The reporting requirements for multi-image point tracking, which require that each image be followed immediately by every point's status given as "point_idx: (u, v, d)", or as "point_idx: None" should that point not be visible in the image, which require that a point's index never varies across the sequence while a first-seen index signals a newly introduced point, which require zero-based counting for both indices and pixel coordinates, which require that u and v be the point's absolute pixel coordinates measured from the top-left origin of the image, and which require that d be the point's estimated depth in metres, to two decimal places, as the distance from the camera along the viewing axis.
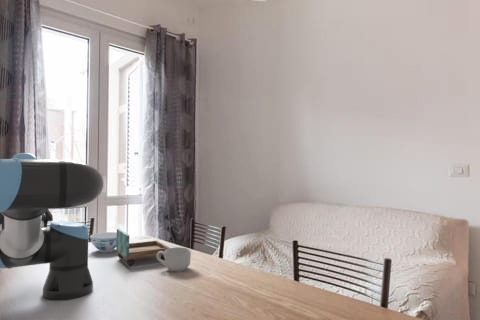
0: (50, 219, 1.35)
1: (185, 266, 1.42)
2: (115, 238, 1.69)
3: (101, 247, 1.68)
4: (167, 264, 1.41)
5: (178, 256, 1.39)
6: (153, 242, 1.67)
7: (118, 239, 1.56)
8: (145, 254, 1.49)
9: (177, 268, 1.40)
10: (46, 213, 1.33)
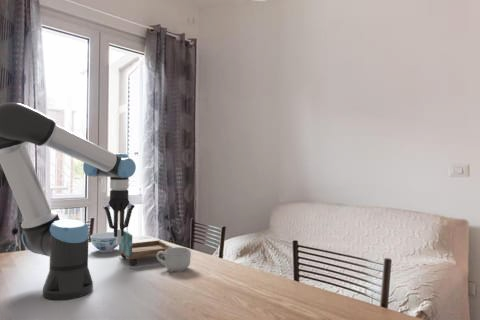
0: (126, 224, 1.52)
1: (185, 266, 1.42)
2: (115, 238, 1.69)
3: (101, 247, 1.68)
4: (167, 264, 1.41)
5: (178, 256, 1.39)
6: (156, 242, 1.68)
7: (121, 239, 1.57)
8: (148, 254, 1.50)
9: (177, 268, 1.40)
10: (129, 216, 1.53)
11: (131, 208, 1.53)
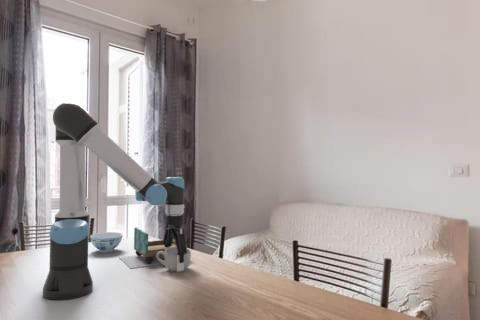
0: (180, 251, 1.36)
1: (185, 266, 1.42)
2: (115, 238, 1.69)
3: (101, 247, 1.68)
4: (167, 264, 1.41)
5: None
6: None
7: (136, 237, 1.60)
8: None
9: None
10: (179, 242, 1.38)
11: (177, 233, 1.39)
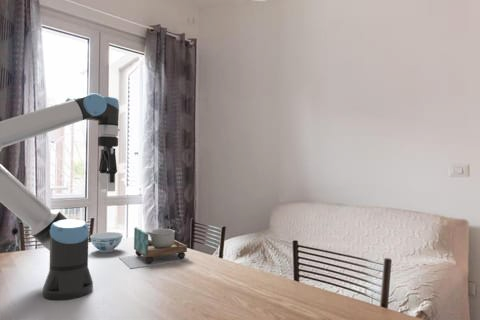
0: (109, 169, 1.31)
1: (169, 244, 1.59)
2: (115, 238, 1.69)
3: (101, 247, 1.68)
4: (153, 242, 1.58)
5: (162, 235, 1.56)
6: None
7: (136, 237, 1.60)
8: (163, 252, 1.53)
9: (162, 246, 1.57)
10: (109, 161, 1.32)
11: (108, 152, 1.33)
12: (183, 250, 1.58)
